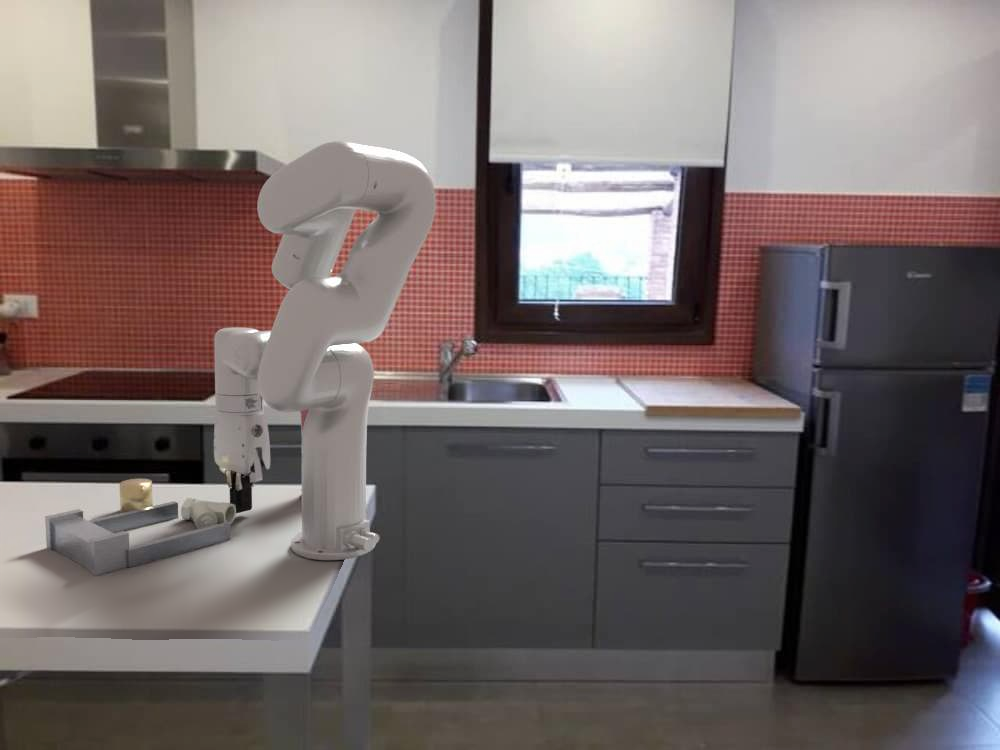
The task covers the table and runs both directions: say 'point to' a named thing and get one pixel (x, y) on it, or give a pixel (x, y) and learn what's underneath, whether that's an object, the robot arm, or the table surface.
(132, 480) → the cylinder
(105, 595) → the table surface
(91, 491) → the table surface
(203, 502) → the pipe fitting
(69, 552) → the pipe jig
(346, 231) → the robot arm
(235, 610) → the table surface
